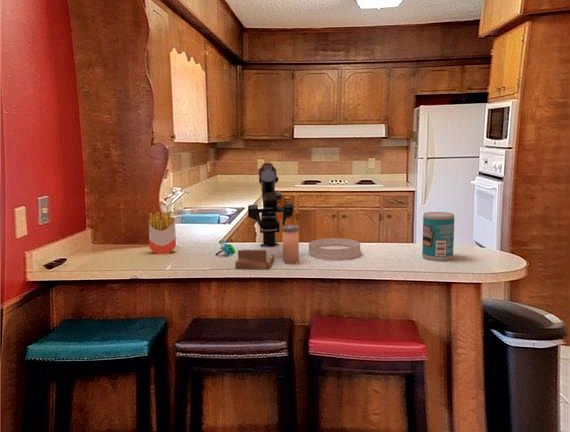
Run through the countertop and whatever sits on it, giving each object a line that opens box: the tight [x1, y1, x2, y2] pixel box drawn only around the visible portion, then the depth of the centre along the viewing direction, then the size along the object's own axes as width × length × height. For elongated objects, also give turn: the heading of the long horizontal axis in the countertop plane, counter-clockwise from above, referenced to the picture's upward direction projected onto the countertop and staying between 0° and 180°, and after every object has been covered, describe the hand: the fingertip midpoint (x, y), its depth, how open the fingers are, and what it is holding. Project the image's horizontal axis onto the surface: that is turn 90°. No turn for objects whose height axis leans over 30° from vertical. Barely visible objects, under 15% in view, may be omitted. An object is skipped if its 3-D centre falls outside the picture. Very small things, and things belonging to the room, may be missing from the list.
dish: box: [308, 237, 362, 261], centre depth 221 cm, size 22×22×5 cm
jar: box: [281, 224, 300, 264], centre depth 209 cm, size 7×7×14 cm
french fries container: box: [148, 211, 177, 255], centre depth 229 cm, size 5×11×18 cm, turn 94°
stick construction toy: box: [215, 239, 236, 257], centre depth 225 cm, size 12×7×8 cm
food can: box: [421, 211, 455, 262], centre depth 210 cm, size 12×12×18 cm
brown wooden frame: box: [234, 249, 275, 270], centre depth 206 cm, size 13×13×7 cm
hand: (272, 227), depth 212 cm, fingers open, 9 cm apart
